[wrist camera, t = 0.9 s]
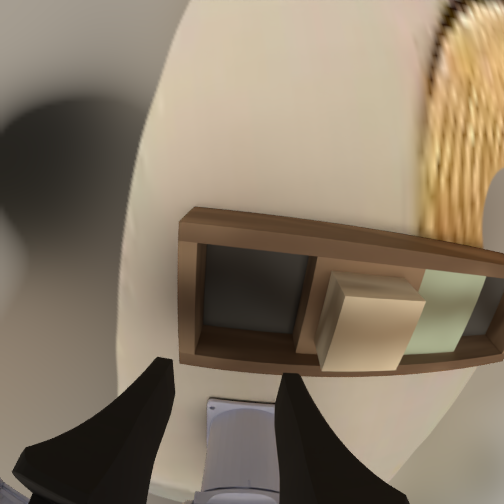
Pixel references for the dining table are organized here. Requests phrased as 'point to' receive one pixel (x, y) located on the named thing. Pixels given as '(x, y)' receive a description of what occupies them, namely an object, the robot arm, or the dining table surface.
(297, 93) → the dining table surface
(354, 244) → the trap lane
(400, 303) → the maple block
